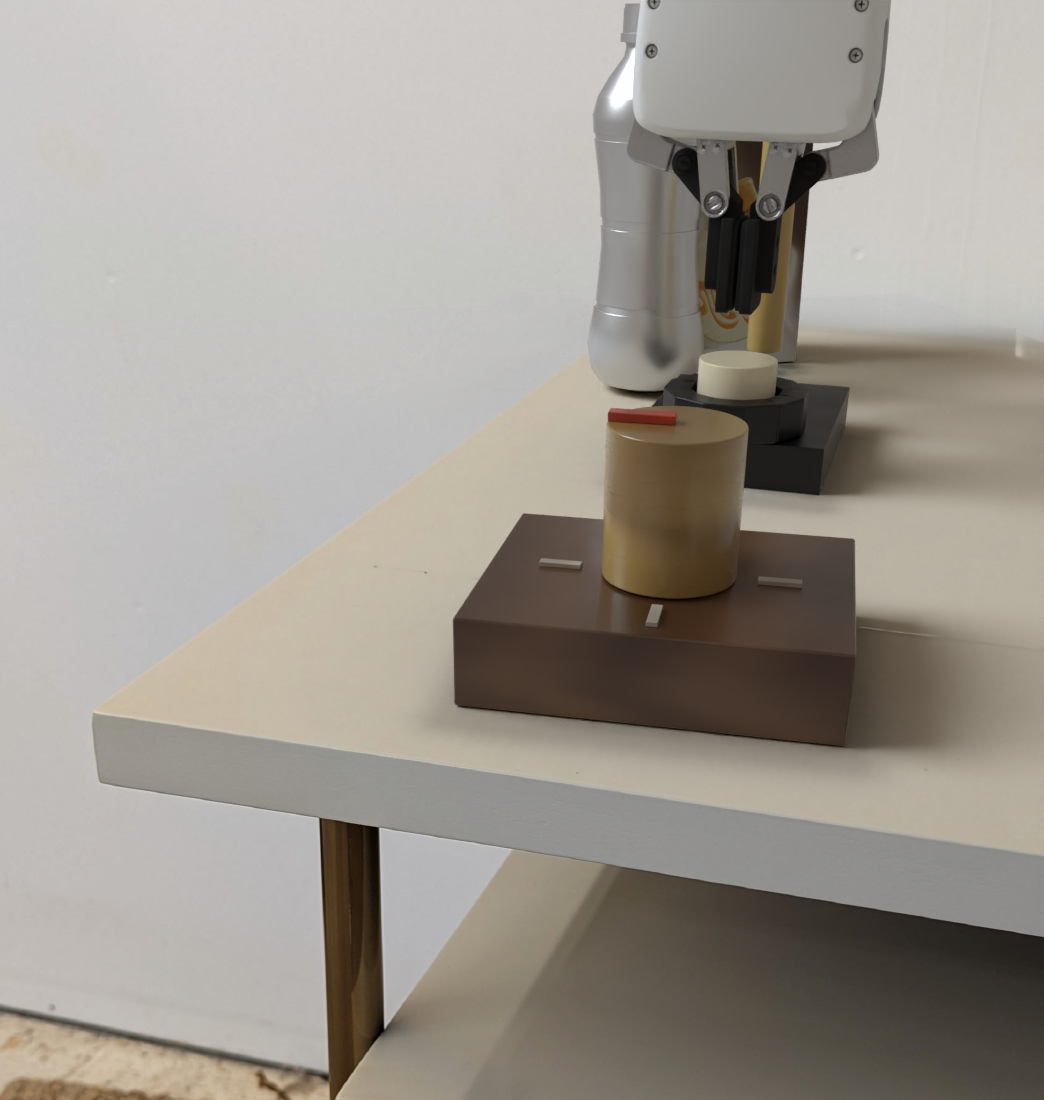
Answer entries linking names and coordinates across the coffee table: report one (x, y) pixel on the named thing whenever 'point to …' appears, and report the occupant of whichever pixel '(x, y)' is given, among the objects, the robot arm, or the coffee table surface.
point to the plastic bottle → (641, 251)
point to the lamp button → (737, 375)
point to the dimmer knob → (673, 500)
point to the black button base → (779, 430)
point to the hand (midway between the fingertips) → (737, 307)
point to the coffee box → (733, 326)
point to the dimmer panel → (663, 637)
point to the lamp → (771, 311)
